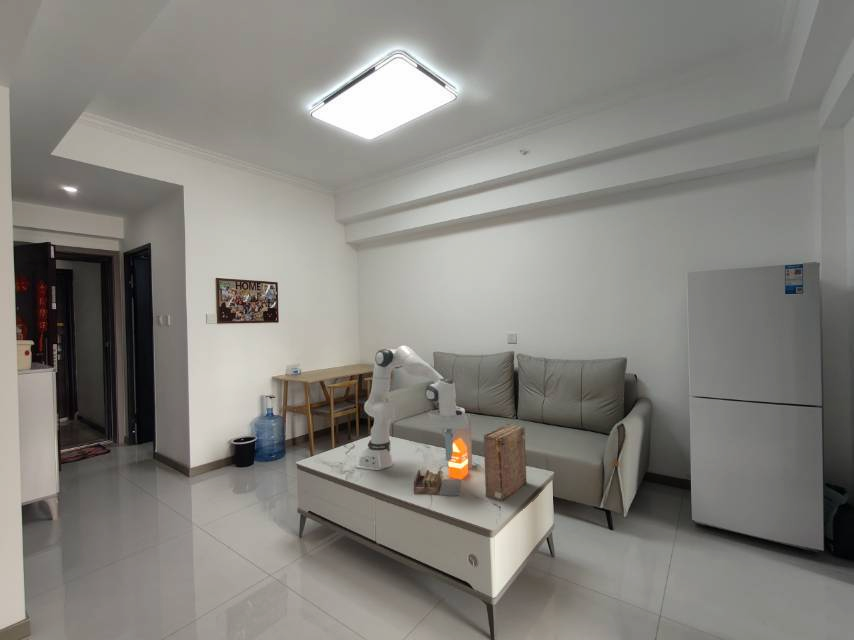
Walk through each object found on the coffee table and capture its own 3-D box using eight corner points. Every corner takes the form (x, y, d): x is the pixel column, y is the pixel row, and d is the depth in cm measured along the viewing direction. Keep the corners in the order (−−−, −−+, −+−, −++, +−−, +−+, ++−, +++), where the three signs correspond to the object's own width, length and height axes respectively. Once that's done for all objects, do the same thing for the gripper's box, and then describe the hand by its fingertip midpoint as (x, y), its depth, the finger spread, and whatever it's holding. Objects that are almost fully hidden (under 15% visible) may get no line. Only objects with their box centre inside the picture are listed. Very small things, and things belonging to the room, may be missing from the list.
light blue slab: (446, 460, 197) (445, 434, 196) (448, 451, 209) (447, 427, 208) (451, 460, 196) (450, 435, 196) (453, 451, 208) (452, 427, 208)
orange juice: (468, 473, 220) (467, 438, 219) (461, 479, 212) (460, 442, 212) (455, 471, 224) (454, 436, 223) (448, 477, 216) (447, 441, 216)
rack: (413, 493, 197) (413, 481, 197) (419, 480, 213) (418, 469, 213) (437, 494, 195) (436, 482, 195) (440, 480, 211) (440, 469, 211)
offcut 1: (426, 491, 199) (426, 480, 199) (429, 483, 209) (428, 472, 209) (430, 491, 199) (429, 480, 199) (433, 483, 209) (432, 472, 209)
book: (510, 478, 211) (509, 423, 210) (526, 483, 205) (524, 426, 204) (485, 496, 192) (483, 435, 191) (502, 501, 186) (500, 438, 185)
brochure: (472, 464, 233) (470, 414, 232) (472, 468, 227) (470, 416, 227) (448, 464, 234) (446, 414, 234) (447, 468, 229) (446, 416, 228)
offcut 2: (431, 491, 199) (430, 480, 199) (433, 483, 208) (433, 473, 208) (434, 491, 199) (434, 480, 199) (437, 483, 208) (436, 473, 208)
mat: (438, 495, 194) (438, 494, 194) (442, 480, 212) (442, 479, 212) (458, 496, 193) (458, 494, 193) (461, 480, 211) (461, 479, 211)
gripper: (427, 412, 201) (428, 438, 201) (467, 411, 197) (468, 439, 198) (428, 409, 207) (429, 435, 207) (467, 408, 204) (468, 435, 204)
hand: (448, 437), depth 202 cm, fingers closed on light blue slab, 2 cm apart
